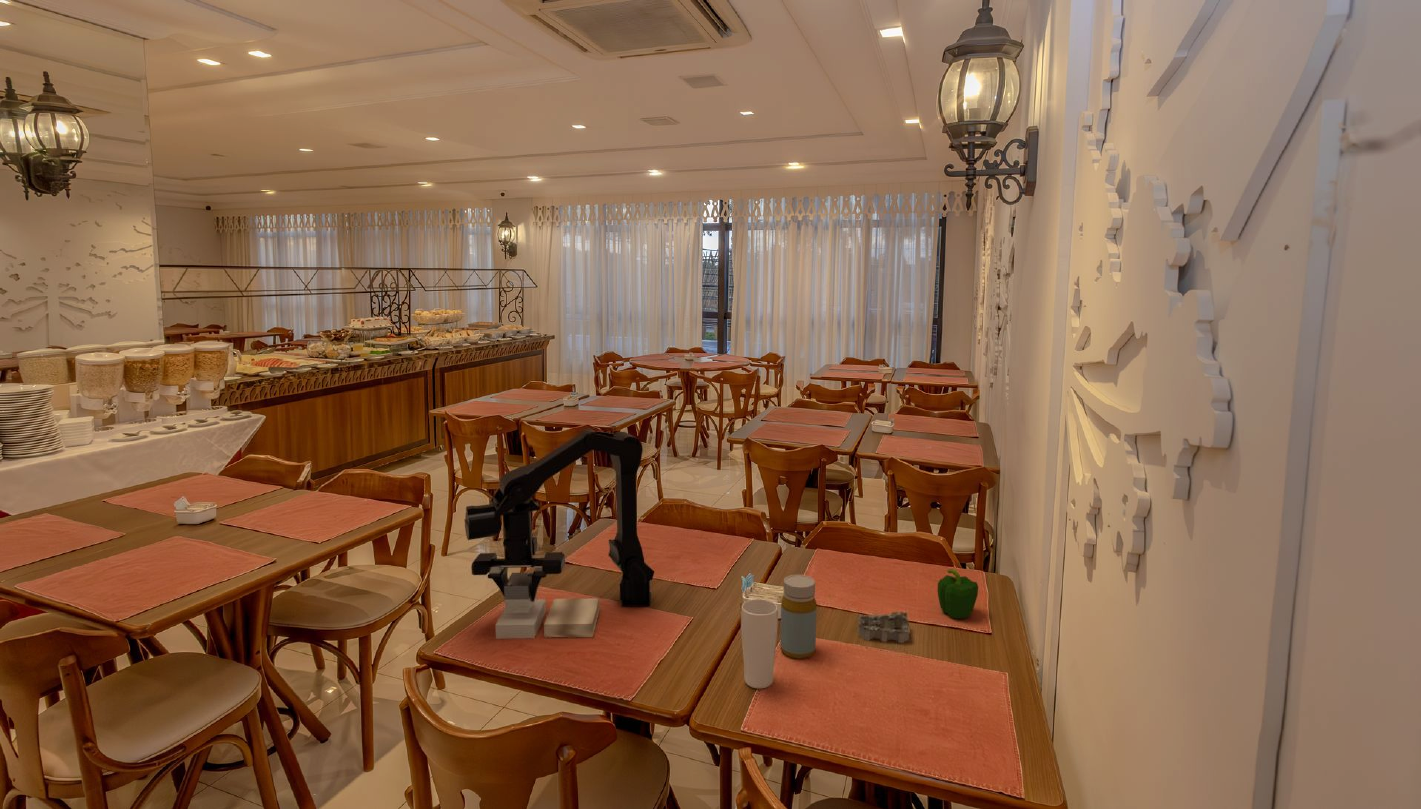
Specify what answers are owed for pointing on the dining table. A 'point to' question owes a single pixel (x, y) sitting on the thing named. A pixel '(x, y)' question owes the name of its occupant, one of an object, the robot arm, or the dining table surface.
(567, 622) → the stand
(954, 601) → the bell pepper
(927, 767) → the dining table surface
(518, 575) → the housing
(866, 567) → the dining table surface
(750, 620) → the drinking glass
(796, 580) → the bottle
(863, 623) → the egg carton
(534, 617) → the stand
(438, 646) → the dining table surface
